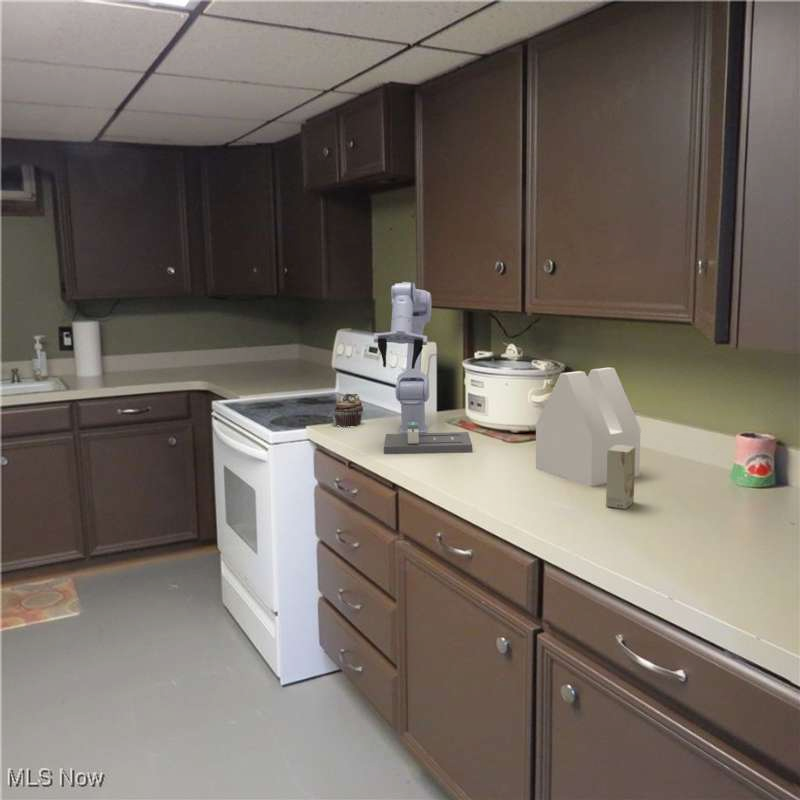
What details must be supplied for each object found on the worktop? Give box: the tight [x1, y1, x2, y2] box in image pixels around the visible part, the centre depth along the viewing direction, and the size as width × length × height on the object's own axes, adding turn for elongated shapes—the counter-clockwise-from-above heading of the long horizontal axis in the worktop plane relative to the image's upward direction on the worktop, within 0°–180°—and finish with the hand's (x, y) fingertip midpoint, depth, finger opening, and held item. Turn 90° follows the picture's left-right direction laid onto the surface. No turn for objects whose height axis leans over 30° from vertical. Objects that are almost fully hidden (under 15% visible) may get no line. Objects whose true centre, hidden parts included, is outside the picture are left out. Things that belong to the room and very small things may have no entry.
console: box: [383, 431, 473, 455], centre depth 218 cm, size 16×24×2 cm, turn 89°
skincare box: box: [605, 445, 635, 510], centre depth 162 cm, size 6×4×12 cm
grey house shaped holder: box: [535, 366, 641, 488], centre depth 186 cm, size 19×15×25 cm
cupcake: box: [333, 393, 364, 428], centre depth 249 cm, size 10×10×10 cm
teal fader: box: [408, 422, 418, 429], centre depth 222 cm, size 4×3×3 cm
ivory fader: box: [408, 429, 419, 444], centre depth 213 cm, size 4×3×3 cm
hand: (398, 366), depth 208 cm, fingers open, 7 cm apart
